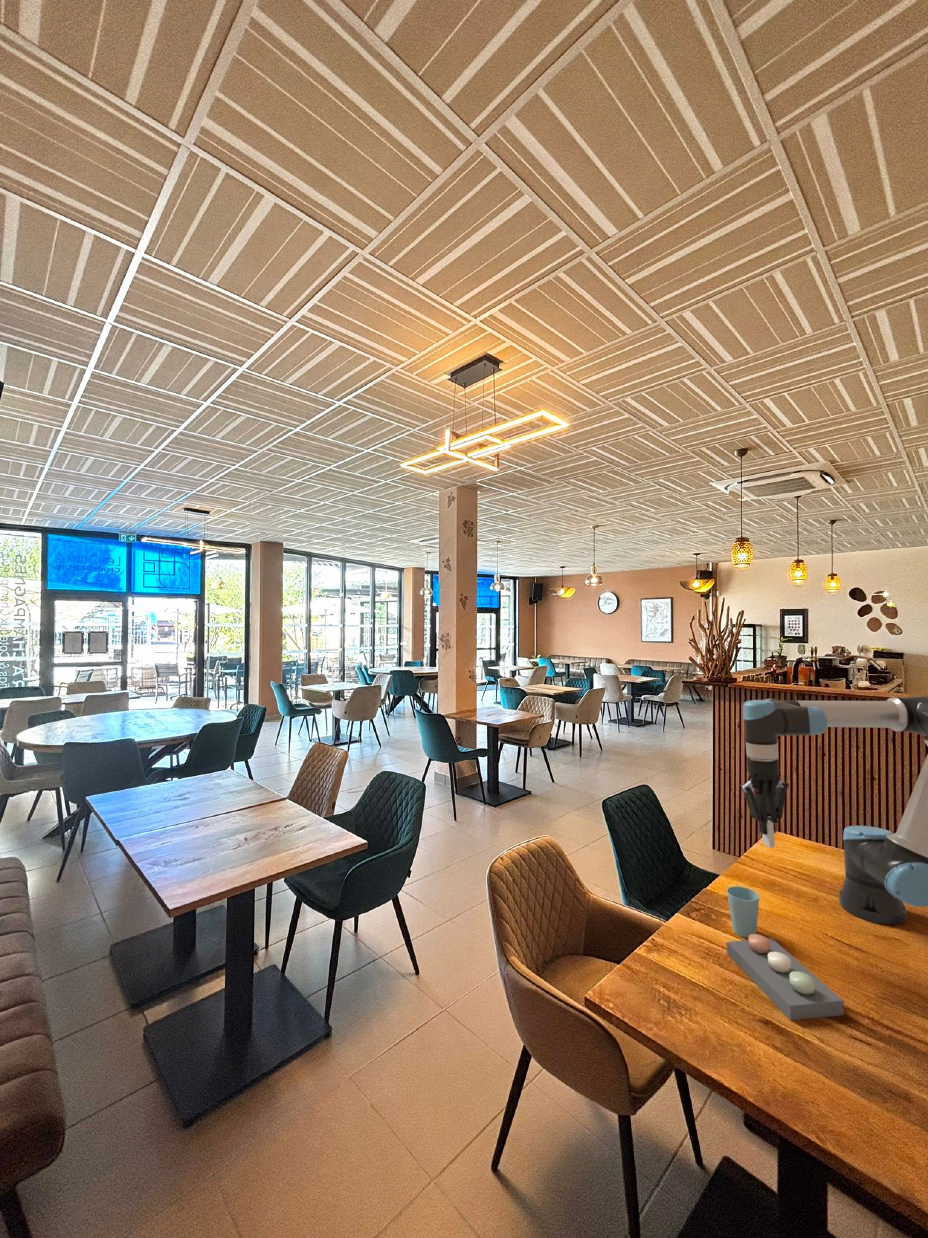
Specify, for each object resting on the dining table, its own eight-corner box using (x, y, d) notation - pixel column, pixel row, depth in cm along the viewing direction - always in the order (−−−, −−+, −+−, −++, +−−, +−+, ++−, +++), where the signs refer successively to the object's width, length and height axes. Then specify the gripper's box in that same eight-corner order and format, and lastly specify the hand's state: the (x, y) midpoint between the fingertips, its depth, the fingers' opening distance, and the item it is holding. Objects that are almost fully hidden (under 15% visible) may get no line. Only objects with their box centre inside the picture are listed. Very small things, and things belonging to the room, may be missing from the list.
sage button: (804, 988, 113) (803, 970, 113) (821, 1004, 108) (820, 985, 108) (785, 990, 112) (784, 972, 112) (800, 1006, 108) (799, 986, 108)
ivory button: (782, 968, 120) (781, 951, 120) (796, 981, 115) (795, 963, 115) (764, 969, 119) (763, 952, 119) (777, 983, 115) (776, 965, 115)
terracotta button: (762, 949, 127) (761, 933, 127) (775, 961, 122) (774, 944, 122) (745, 951, 126) (744, 935, 126) (757, 963, 122) (756, 946, 122)
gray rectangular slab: (771, 950, 129) (771, 938, 129) (844, 1015, 107) (843, 1000, 107) (727, 954, 128) (726, 942, 128) (790, 1020, 106) (789, 1006, 106)
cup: (767, 936, 134) (765, 896, 135) (748, 944, 131) (746, 903, 132) (741, 921, 141) (739, 883, 142) (722, 929, 138) (720, 890, 139)
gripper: (773, 752, 142) (780, 837, 141) (731, 756, 140) (737, 842, 140) (794, 759, 135) (801, 848, 134) (749, 763, 133) (756, 854, 132)
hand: (768, 845), depth 137 cm, fingers closed
